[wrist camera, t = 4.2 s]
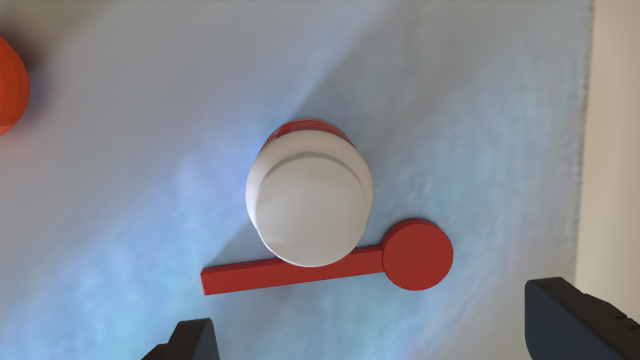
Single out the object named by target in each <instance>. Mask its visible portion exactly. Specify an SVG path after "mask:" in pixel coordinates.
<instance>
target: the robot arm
mask: <svg viewBox="0 0 640 360" xmlns="http://www.w3.org/2000/svg"><path fill="white" fill-rule="evenodd" d="M525 340H526V345H527V348H528V351H529V354H530V356H531V358H532V359H533V360H640V325H639V324H638V323H637V322H635V321H634V320H633V319H631V318H628V317H627V315H626V314H624V313H622V312H621V311H620V310H619V309H617V308H616V307H614V306H613V305H612V304H610V303H608V302H605V301H603V300H601V299H598V298H596V297H594V296H591V295H589V294H583V293H582V292H581V291H579V290H578V289H577V288H575V287H574V286H573V285H571V284H570V283H569V282H567V281H566V280H565V279H563V278H562V277H551V278H542V279H534V280H529V281H527V283H526V285H525ZM141 360H220V358H219V353H218V347H217V342H216V337H215V331H214V326H213V322H212V320H211V319H210V318H203V319H195V320H187V321H180V322H179V323H178V324H177V326H176V328H175V330H174V332H173V334H172V336H171V337H170V339H169V341H168V343H166V344H158V345H157V346H156V347H155V348H153V349H152V350H151V351H150V352H149V353H148V354H147V355H146V356H144V357H143V358H142V359H141Z"/></svg>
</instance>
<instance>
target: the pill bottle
mask: <svg viewBox="0 0 640 360" xmlns="http://www.w3.org/2000/svg"><path fill="white" fill-rule="evenodd" d="M373 200H374V186H373V180H372V176H371V173H370V170H369V168H368V166H367V164H366V161H365V160H364V158H363V157H362V155H361V154H360V153H359V152H358V150H357V149H356V148H355V146H354V145H353V144H352V143H351V142H350V140H349V139H348V138H347V137H346V136H345V134H344V133H343V132H342V131H341V130H339V129H338V128H337V127H335V126H334V125H332V124H330V123H328V122H326V121H324V120H320V119H316V118H300V119H295V120H292V121H289V122H287V123H285V124H283V125H282V126H280V127H279V128H277V129H276V130H275V131H274V132H273V133H272V134H271V135H270V136H269V138H268V139H267V141H266V142H265V144H264V145H263V147H262V148H261V150H260V152H259V153H258V155H257V157H256V159H255V161H254V162H253V164H252V166H251V169H250V171H249V175H248V178H247V183H246V204H247V209H248V213H249V216H250V218H251V220H252V222H253V224H254V226H255V227H256V229H257V231H258V233H259V236H260V237H261V239H262V241H263V242H264V244H265V245H266V246H267V248H268V249H269V250H270V251H271V252H273V253H274V254H275V255H276V256H278V257H279V258H281V259H282V260H284V261H286V262H289V263H291V264H294V265H298V266H303V267H319V266H324V265H328V264H331V263H334V262H336V261H338V260H340V259H342V258H343V257H345V256H346V255H347V254H349V253H350V252H351V251H352V250H353V249H354V248H355V247H356V245H357V244H358V243H359V241H360V240H361V238H362V236H363V234H364V232H365V229H366V226H367V222H368V218H369V216H370V213H371V210H372V206H373Z"/></svg>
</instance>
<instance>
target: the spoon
mask: <svg viewBox="0 0 640 360" xmlns="http://www.w3.org/2000/svg"><path fill="white" fill-rule="evenodd" d="M452 261H453V248H452V244H451V242H450V240H449V238H448V237H447V235H446V234H445V233H444V232H443V231H442V230H441V229H440V228H439V227H438V226H437V225H435V224H434V223H432V222H430V221H428V220H425V219H418V218H414V219H407V220H404V221H401V222H399V223H397V224H396V225H394V226H393V227H392V228H390V229H389V231H388V232H387V233H386V234H385V236H384V237H383V239H382V242H381V245H376V246H369V247H361V248H354V249H353V250H352V251H351V252H350V253H349V254H347V255H346V256H345V257H343V258H342V259H340V260H338V261H336V262H334V263H331V264H328V265H324V266H319V267H303V266H298V265H294V264H291V263H289V262H286V261H284V260H282V259H281V258H277V259H269V260H261V261H254V262H246V263H238V264H231V265H223V266H215V267H208V268H203V270H202V272H201V274H200V275H201V280H202V285H203V290H204V295H211V294H219V293H227V292H234V291H242V290H249V289H257V288H265V287H272V286H280V285H287V284H295V283H303V282H310V281H318V280H325V279H333V278H341V277H348V276H356V275H363V274H371V273H379V272H385V273H386V275H387V276H388V278H389V279H390V280H391V281H392V282H393V283H394V284H396V285H397V286H399V287H401V288H403V289H407V290H414V291H417V290H424V289H428V288H430V287H433V286H434V285H436V284H438V283H439V282H440V281H441V280H442V279H443V278H444V277H445V276H446V275H447V273H448V272H449V270H450V268H451V265H452Z"/></svg>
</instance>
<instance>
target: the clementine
mask: <svg viewBox="0 0 640 360" xmlns="http://www.w3.org/2000/svg"><path fill="white" fill-rule="evenodd" d="M29 95H30V86H29V78H28V74H27V71H26V68H25V65H24V64H23V62H22V60H21V59H20V57H19V55H18V54H17V52H16V51H15V50H14V49H13V48H12V47H11V46H10V45H9V44H8V43H7V42H6V41H5V40H4V39H3V38H2V37H1V36H0V135H2V134H4V133H6V132H7V131H8V130H9V129H10V128H11V127H12V126H14V125H15V124H16V123H17V121H18V120H19V119H20V118H21V116H22V114H23V113H24V111H25V109H26V107H27V104H28V100H29Z"/></svg>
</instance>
